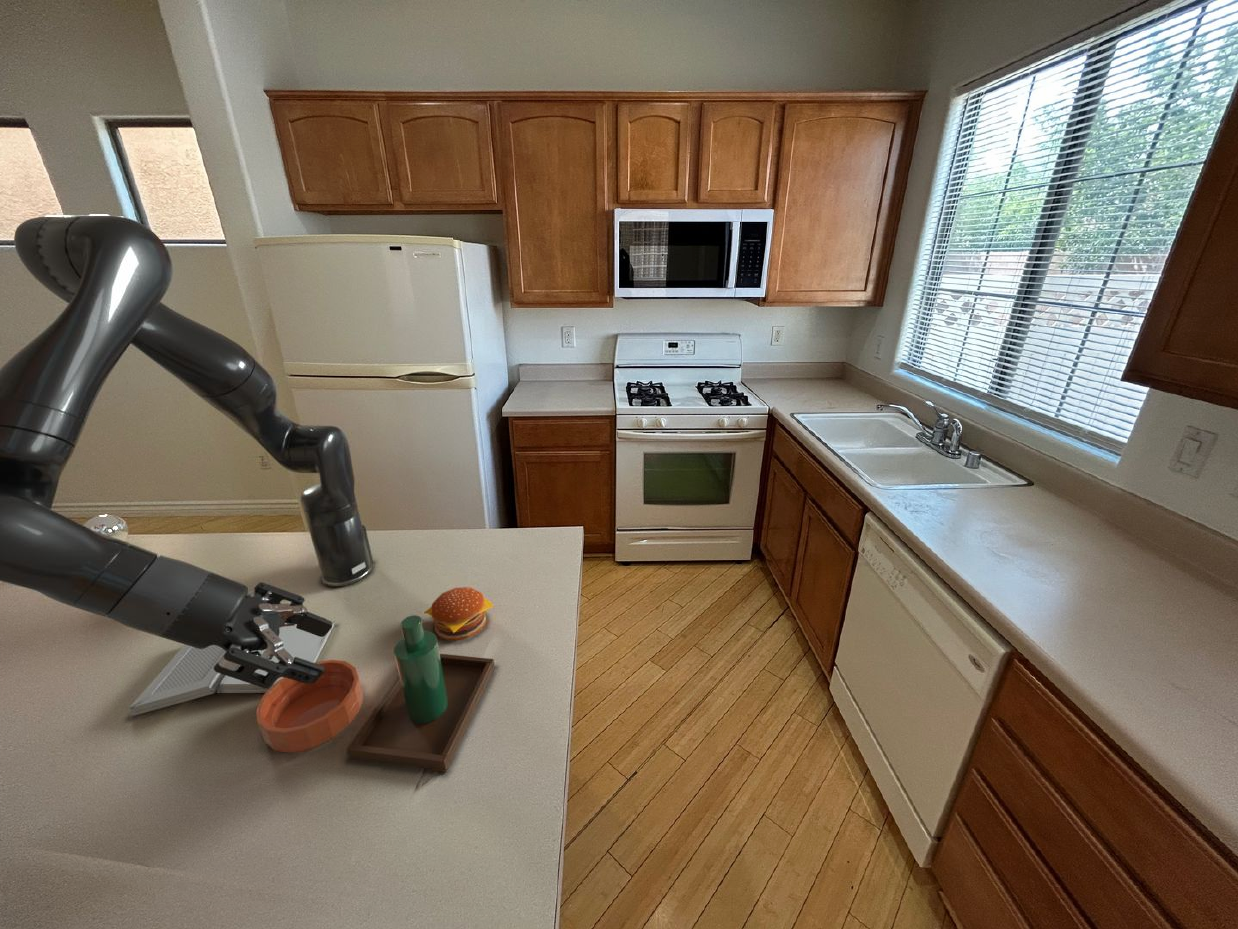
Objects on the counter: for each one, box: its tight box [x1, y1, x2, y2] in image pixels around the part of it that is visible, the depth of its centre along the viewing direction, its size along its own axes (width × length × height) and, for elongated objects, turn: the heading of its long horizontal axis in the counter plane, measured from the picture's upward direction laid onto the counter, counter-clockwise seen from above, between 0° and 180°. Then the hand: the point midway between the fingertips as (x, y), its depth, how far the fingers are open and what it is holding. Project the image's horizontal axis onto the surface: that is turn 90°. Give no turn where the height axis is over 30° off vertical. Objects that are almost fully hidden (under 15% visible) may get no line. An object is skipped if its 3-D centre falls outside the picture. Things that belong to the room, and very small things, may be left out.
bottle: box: [393, 614, 448, 724], centre depth 67 cm, size 6×6×16 cm
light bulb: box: [83, 514, 130, 542], centre depth 102 cm, size 7×7×12 cm
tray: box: [346, 653, 496, 773], centre depth 70 cm, size 18×14×2 cm
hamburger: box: [423, 586, 495, 641], centre depth 86 cm, size 9×10×7 cm
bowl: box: [255, 659, 365, 754], centre depth 69 cm, size 12×12×4 cm
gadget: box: [128, 620, 335, 717], centre depth 77 cm, size 23×15×4 cm, turn 102°
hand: (324, 651), depth 61 cm, fingers open, 8 cm apart
